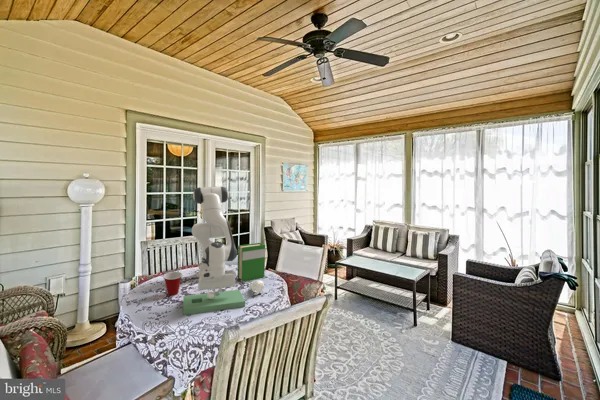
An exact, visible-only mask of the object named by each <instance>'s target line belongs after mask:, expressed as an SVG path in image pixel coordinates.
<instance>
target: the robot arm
mask: <svg viewBox="0 0 600 400" xmlns="http://www.w3.org/2000/svg"><path fill="white" fill-rule="evenodd" d="M229 196H230V193H229V191H228V189H227V187H225V186H204V187H200V186H199V187H195V189H193V193H192V198H193V199H192V200H193V201H194V203H196V204H199V205H201V213H202V218H203V220H204V222H198V223H195V224H193V226H192V228H191V234H192V236H193V237H194V238H195V239H197V241H199V243H200V245H201V248H202V257H201V264H200V265H199V266H198V269H199V270H198V273H197V275H196V278H198V283H197V288H198V290H199V291H204V290H205V291H206V290H212V292H213V293H214V296H219V295H220V292H222V291H223V288H230V287H235V285H236V278H235V277H237V276H236V274H237V273H236V271H235V270H233V269H231V270H228V269H227V270H226V262H233V261H235V259H236V258H238V249H237V247H236V244H235V240H234V237H233V233H232V228H231V226H230V225H231V224H230V222H229V220H228V218H226V217H225V216H224V214H223V210H222V209H223V208H222V203H226V202H227V201H229V200H228V199H229ZM213 238H214V239H219V238H225V242H226V244H224V243H223V242H220V241H214V242H213V241H212V240H211V239H213ZM216 289H218V291H216Z"/></svg>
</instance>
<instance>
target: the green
mask: <svg viewBox="0 0 600 400" xmlns="http://www.w3.org/2000/svg"><path fill="white" fill-rule="evenodd" d="M208 293H209V292H207V293H198V294H190V295H183V303H182V306H183V307H182V309H183V310H182V312H183V313H182V314H183V316H184V315H186V316H187V315H194V314H201V313H207V312H213V311H214V312H215V311H222V310H228V309H229V310H230V309H236V308H243V307H246V300H245V298H244V296H243V294H242V292H241V290H240V289H233V290H225V291H223V290H222V291H221V292H220V295H219V296H214V298H213V299H208V298H207V294H208Z"/></svg>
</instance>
